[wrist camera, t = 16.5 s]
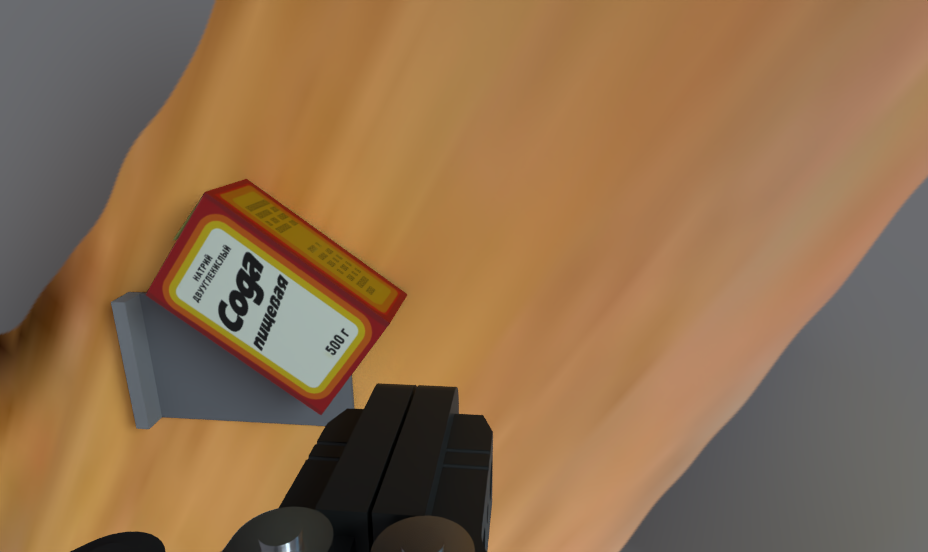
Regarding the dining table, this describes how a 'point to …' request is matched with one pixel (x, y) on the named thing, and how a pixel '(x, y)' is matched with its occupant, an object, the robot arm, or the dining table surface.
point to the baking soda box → (275, 292)
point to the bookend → (199, 374)
